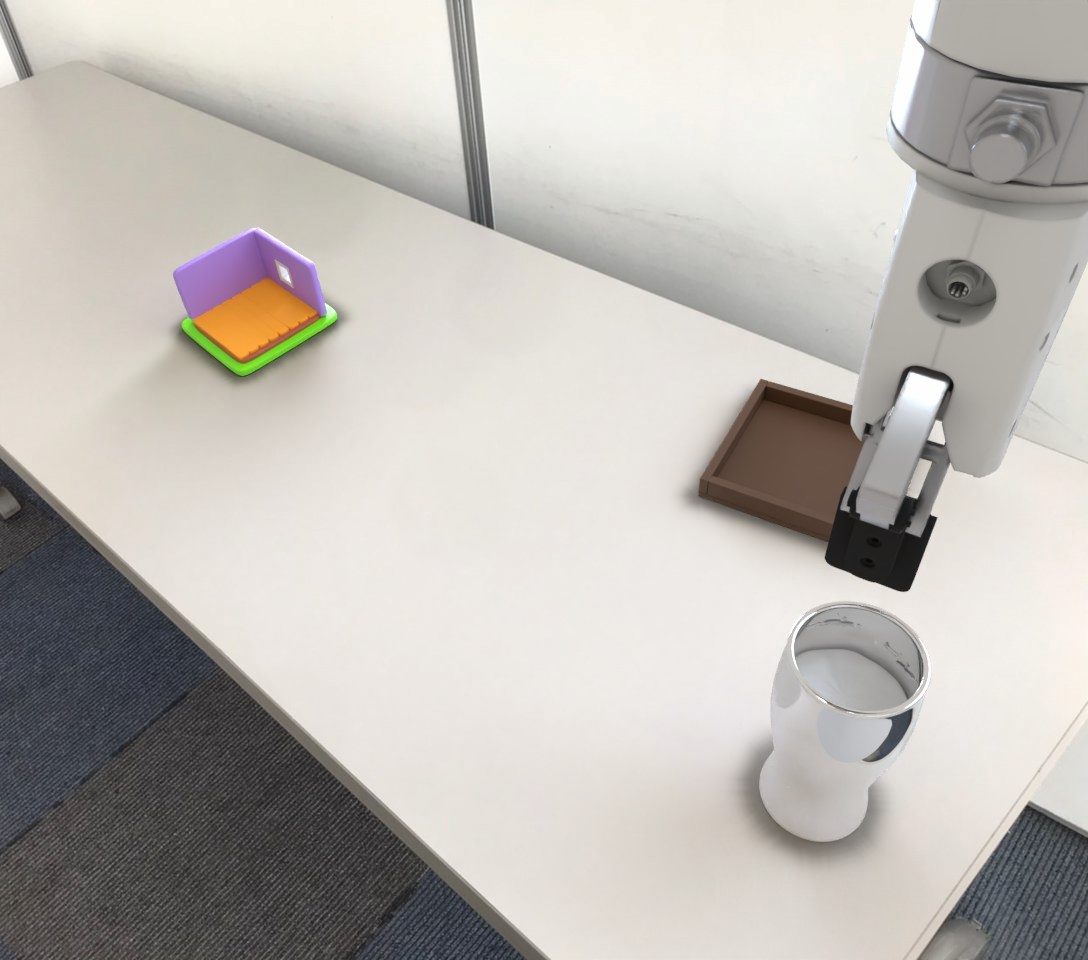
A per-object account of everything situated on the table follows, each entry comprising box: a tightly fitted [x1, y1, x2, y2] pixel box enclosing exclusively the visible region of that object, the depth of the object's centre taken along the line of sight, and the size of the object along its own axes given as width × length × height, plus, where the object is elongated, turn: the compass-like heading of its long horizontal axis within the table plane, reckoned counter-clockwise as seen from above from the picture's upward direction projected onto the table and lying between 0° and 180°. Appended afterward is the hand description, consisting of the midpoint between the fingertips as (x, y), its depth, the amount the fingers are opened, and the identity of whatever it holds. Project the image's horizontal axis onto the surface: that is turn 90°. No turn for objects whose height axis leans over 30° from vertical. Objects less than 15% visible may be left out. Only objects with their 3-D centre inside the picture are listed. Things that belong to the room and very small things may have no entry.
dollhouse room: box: [172, 227, 338, 377], centre depth 94 cm, size 12×12×7 cm
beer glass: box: [758, 600, 932, 843], centre depth 53 cm, size 7×7×15 cm
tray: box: [697, 378, 890, 543], centre depth 74 cm, size 12×12×2 cm
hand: (905, 489), depth 40 cm, fingers open, 9 cm apart
